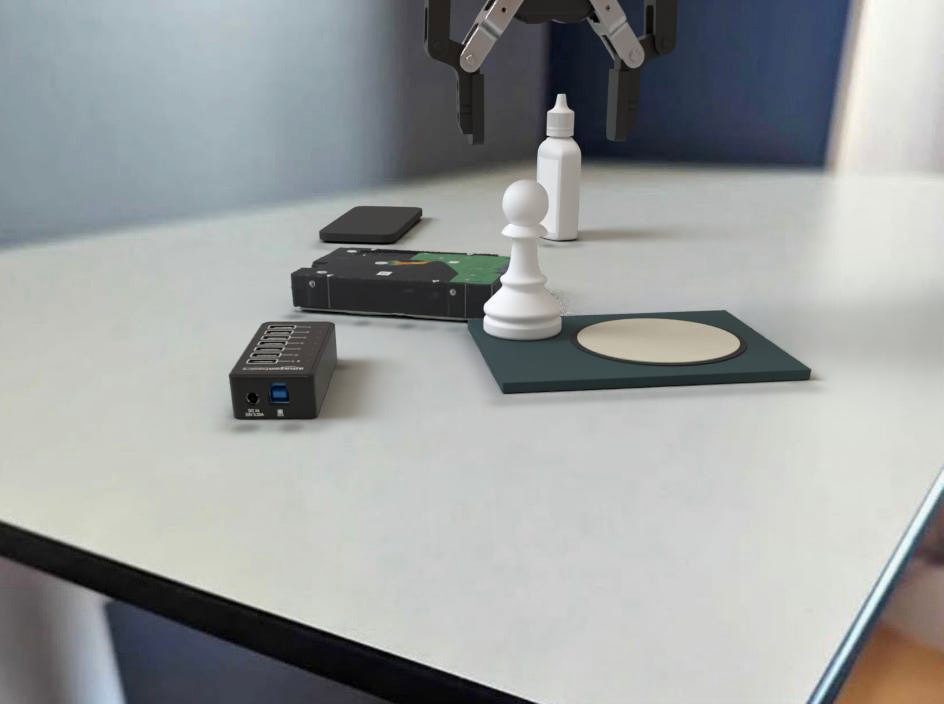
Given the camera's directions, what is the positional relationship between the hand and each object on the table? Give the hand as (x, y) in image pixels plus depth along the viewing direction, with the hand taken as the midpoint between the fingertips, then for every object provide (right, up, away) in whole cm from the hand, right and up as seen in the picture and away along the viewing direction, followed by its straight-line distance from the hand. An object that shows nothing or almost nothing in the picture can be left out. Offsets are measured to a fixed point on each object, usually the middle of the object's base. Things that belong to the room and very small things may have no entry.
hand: (546, 141), depth 61 cm
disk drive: (-9, -5, +14) cm, 17 cm away
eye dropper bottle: (+4, +8, +37) cm, 38 cm away
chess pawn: (-1, -10, +5) cm, 11 cm away
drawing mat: (+5, -12, +3) cm, 13 cm away
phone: (-14, +10, +40) cm, 43 cm away
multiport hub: (-15, -16, -3) cm, 22 cm away
